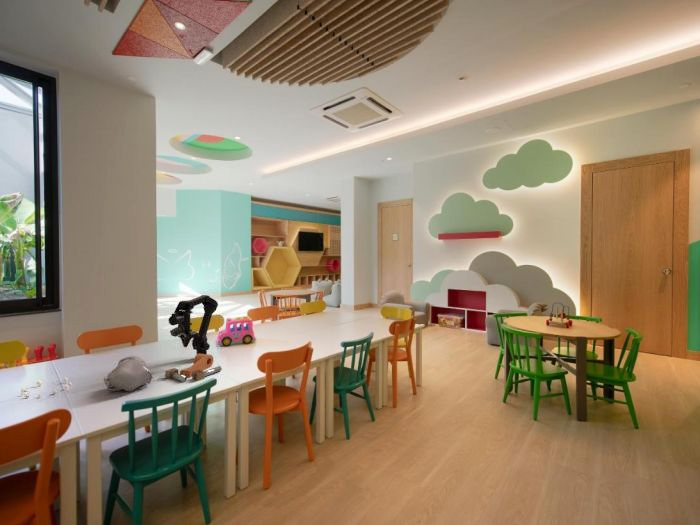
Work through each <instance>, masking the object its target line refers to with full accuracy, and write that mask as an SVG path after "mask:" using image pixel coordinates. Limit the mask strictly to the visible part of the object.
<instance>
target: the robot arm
mask: <svg viewBox="0 0 700 525" xmlns="http://www.w3.org/2000/svg"><path fill="white" fill-rule="evenodd" d="M200 304H201V305H202V306H203V307H202V308H203V311H204V314H203V316H202V320H201V322H200V326H199V330H198V332H197V331H195V330H194V331H193V329H192V328H191V326H192V325H193V323H192V322H191V314H193V313H194V312H193V311H192V310H193V309H194V307H196V306H199V305H200ZM218 306H219V303H218V301H217V300H216V299H214V298H212V297H211V296H209V295H207V294H202V295H200V296H198V297H195V298H192V299H188V300H180V301H179V302H178V303H177V305H176V308H174V309H175V310H174V312H173V313H171V316H169V317H168V324H169V325H171V326H176V327H174V328H172V329H170V331H169V333H170V335H171V337H174V338H176V337H178V338H180V340H181V343H182V346H183V348H187V347H188V346H189V343H190V342H191V345H192V349H193V350H194V351H195V350H196V352H195V353H196V355H197V354H207V353H208V351H207V350H210V344H209V343H208V337H207V334H208V330H209V326H210V323H211V319H212V317H213V314H214V313H215V312H216V311H217V309H218ZM196 355H195V356H196ZM207 355H208V354H207Z"/></svg>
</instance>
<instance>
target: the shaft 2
mask: <svg viewBox="0 0 700 525" xmlns="http://www.w3.org/2000/svg"><path fill="white" fill-rule="evenodd" d="M221 371H222V366H221V365H219V366H218V365H217V366H216V367H212V368H210V369H209V368H208V369H206V370H204V371H201V370H197V371H194V372H192V377H191V380H194V381H196V382H199V381H201V380H204V379H205V377H208V376H211V375H215V374H216V373H219V372H221Z"/></svg>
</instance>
